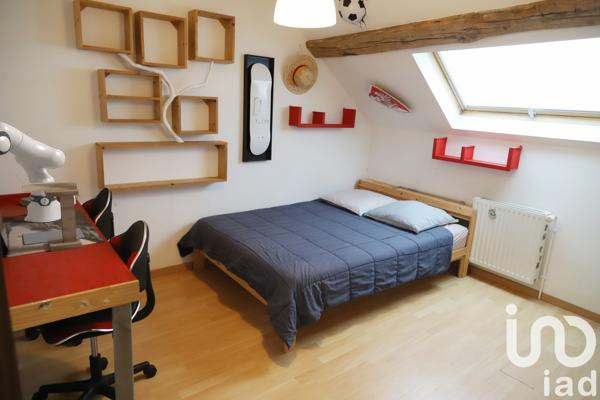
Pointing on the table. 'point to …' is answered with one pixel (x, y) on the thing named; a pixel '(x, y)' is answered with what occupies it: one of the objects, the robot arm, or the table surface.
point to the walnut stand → (65, 220)
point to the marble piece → (25, 201)
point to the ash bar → (49, 186)
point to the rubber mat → (46, 236)
